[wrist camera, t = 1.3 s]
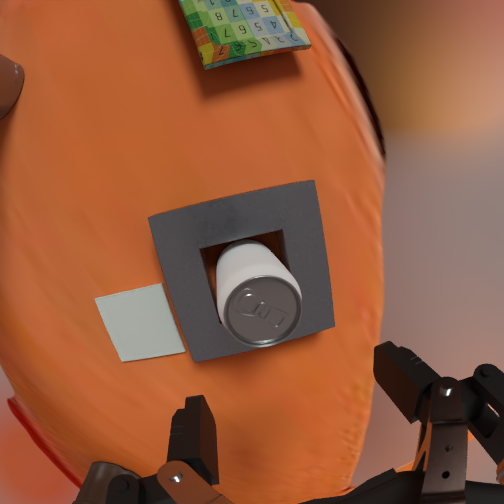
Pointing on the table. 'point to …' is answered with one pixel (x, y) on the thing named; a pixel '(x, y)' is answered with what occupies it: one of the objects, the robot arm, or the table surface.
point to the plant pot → (99, 482)
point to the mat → (141, 323)
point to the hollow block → (233, 228)
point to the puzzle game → (242, 29)
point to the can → (256, 295)
